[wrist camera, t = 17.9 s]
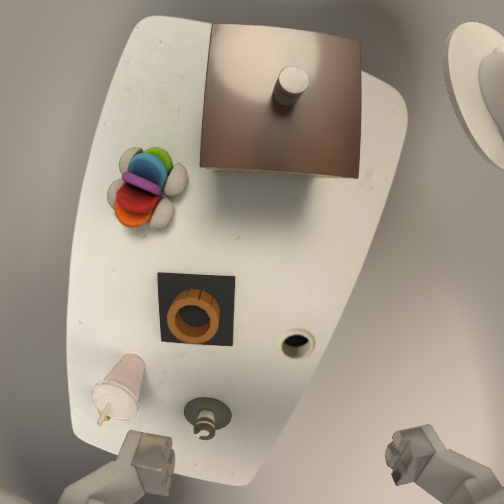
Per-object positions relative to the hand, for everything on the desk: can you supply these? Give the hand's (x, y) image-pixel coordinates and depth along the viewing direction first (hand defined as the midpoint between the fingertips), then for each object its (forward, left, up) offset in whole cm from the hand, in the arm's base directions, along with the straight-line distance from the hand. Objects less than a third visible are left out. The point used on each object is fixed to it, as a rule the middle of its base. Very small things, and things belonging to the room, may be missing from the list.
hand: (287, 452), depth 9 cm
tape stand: (-1, -16, -31) cm, 34 cm away
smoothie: (+17, +18, -31) cm, 40 cm away
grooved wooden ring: (+7, +8, -30) cm, 32 cm away
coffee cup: (+6, +27, -31) cm, 42 cm away
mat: (+7, +8, -31) cm, 32 cm away
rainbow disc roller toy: (+13, -8, -31) cm, 34 cm away
